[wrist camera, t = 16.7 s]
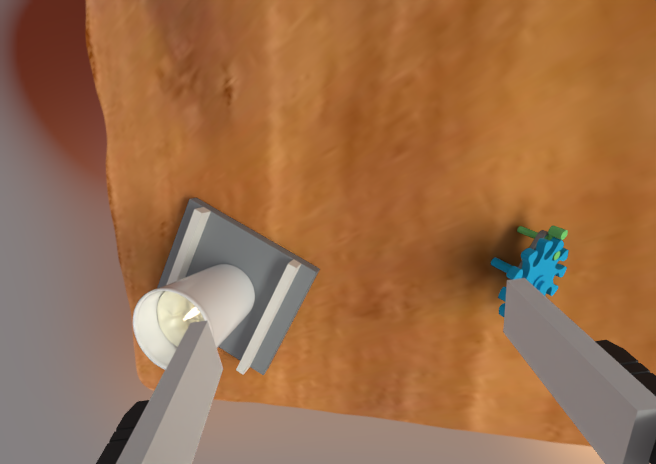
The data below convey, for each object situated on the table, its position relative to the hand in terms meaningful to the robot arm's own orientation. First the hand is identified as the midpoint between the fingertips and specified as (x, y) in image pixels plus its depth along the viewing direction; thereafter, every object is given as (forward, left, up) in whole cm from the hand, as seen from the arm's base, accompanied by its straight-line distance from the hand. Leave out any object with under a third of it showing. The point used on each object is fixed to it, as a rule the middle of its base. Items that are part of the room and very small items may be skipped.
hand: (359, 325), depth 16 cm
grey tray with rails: (+5, -25, -29) cm, 38 cm away
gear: (+8, +13, -29) cm, 33 cm away
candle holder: (+5, -25, -27) cm, 37 cm away
